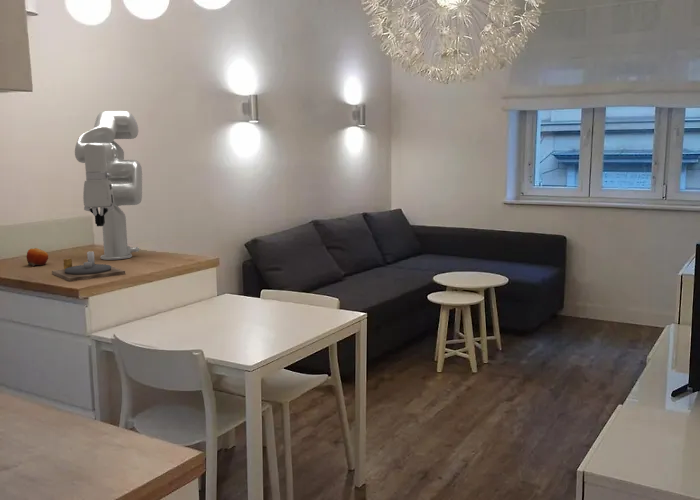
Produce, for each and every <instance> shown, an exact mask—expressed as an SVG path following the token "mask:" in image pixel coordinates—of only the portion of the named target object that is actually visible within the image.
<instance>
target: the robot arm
mask: <svg viewBox="0 0 700 500" xmlns="http://www.w3.org/2000/svg"><path fill="white" fill-rule="evenodd" d="M138 135H139V126H138V122H137V120H136V119H135V117H134V115H133V114H132V113H131V112H130V111H127V110H105V111H104V110H103V111H101V112H99V113H98V114H97V116H96V119H95V122H94V126H93V128H91V129H90V130H87V131H85V132H84V133H82V134H81V135H80V136H78V138H77V141H76V144H75V148H74V157H75V159H76V160H77V162H79V163H81V164H84V165H85V167H84V168H85V179H86V180H84V182H83V196H82V198H83V200H82V201H83V205H84V207H83V210H84V211H87V212H90V213H91V214H93V216H94V221H95V222H94V223H95V224H96V227H102V239H103V253H104V254H101V255H100V259H101V260H105V261H107V260H108V261H116V260H118V261H119V260H126V259H129V258H133V254H132V253H134V252H136V253H137V252H139V251H140V247H139V246H136V247H134V246H133V247H132V246H129V245H128V233H127V232H128V231H127V219H126V217H127V216H126V214H125V212H124V211H123V210H122V209H121V208H120V206H136V205H140V203H141V202H142V199H143V170H142V169H143V168H142V165H141V163H140V162H139V161H138V160H135V159H125V151H124V149H123V148H122V146H121V145H119V143H117V142H116V141H115V140H133V139H136V138H137V137H138Z"/></svg>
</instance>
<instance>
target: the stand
mask: <svg viewBox="0 0 700 500" xmlns="http://www.w3.org/2000/svg"><path fill="white" fill-rule="evenodd" d="M105 265H107V264H105ZM110 266H111V270H109V271H106V272H102V273H95V274H83V275H74V274H66V273H65V269H66V268H69V267H73V260H72V258H64V259H63V269H55V270H51V274H52V275H53V276H56V277H58V278H61V279H62V280H65V281H68V282H77V281H82V280H83V281H84V280H90V279H98V278H106V277H107V278H108V277H114V276H120V275H122V276H123V275H126V273H127V272H126V270H124V269H121V268H118V267H115V266H113V265H110Z"/></svg>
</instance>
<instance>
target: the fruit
mask: <svg viewBox="0 0 700 500" xmlns="http://www.w3.org/2000/svg"><path fill="white" fill-rule="evenodd" d="M48 260H49V254H48V252H46V251H45V250H43V249H40V248H38V247H34V248H30V249H28V251H27V252H26V261H27V264H28V266H32V268H33V267H34V266H44V265H46V264H47V261H48Z"/></svg>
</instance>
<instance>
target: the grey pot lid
mask: <svg viewBox="0 0 700 500" xmlns="http://www.w3.org/2000/svg"><path fill="white" fill-rule="evenodd" d="M86 256H87V261H85V262H83V264H80V265H74V266H73V265H72V267H69V268H66V269H65V273H66V274H74V275H83V274H95V273H102V272H106V271H109V270H111V266H112V265H109V264H106V265H105V264H104V263H103V264H101V263H98V264H97V263H96V264H95V253H94V251H87V252H86Z"/></svg>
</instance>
